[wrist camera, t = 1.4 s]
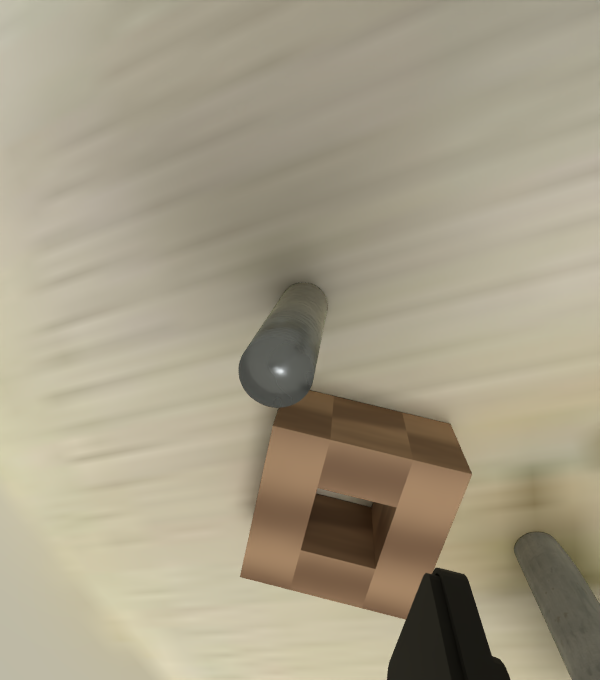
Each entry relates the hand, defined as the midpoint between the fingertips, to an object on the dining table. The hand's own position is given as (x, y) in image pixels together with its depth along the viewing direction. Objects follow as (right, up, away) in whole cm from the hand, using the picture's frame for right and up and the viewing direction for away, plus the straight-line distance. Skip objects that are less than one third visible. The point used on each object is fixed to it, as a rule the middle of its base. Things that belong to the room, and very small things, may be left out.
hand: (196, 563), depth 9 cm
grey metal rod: (+2, +7, +21) cm, 22 cm away
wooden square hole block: (+6, -5, +25) cm, 26 cm away
